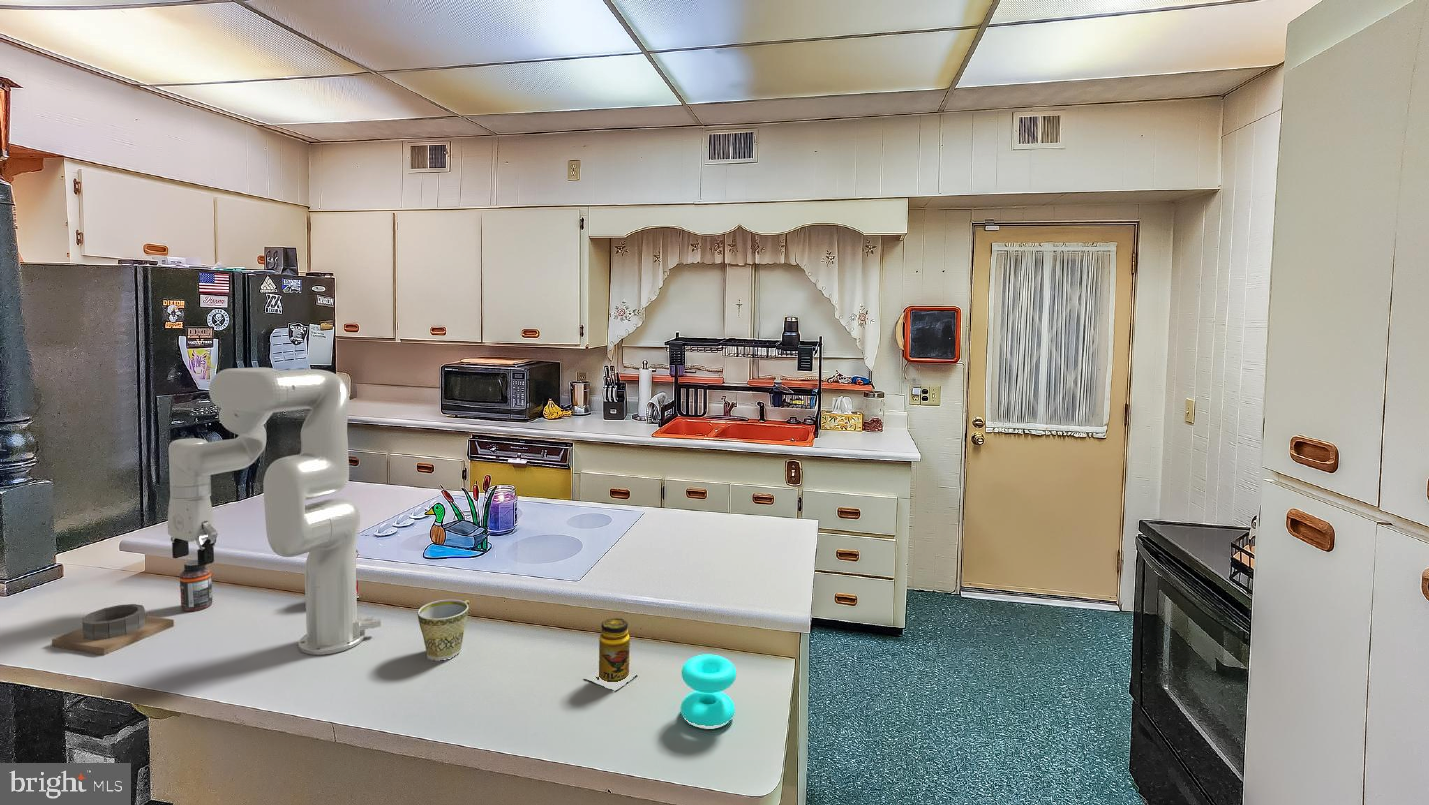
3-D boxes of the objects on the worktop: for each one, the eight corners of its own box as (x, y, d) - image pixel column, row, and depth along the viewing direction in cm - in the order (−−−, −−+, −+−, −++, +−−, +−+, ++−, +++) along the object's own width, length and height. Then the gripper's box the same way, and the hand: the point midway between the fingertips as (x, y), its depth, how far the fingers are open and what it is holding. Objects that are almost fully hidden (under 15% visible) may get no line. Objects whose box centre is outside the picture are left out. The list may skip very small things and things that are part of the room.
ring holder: (125, 618, 150) (124, 597, 149) (173, 626, 147) (172, 604, 146) (52, 646, 136) (50, 623, 136) (104, 655, 133) (102, 632, 133)
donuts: (670, 664, 118) (707, 646, 125) (668, 716, 119) (705, 695, 126) (711, 685, 111) (747, 665, 118) (709, 740, 112) (745, 716, 119)
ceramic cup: (445, 669, 132) (445, 622, 131) (407, 660, 135) (406, 614, 134) (487, 641, 144) (487, 598, 143) (451, 633, 148) (450, 591, 147)
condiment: (616, 692, 126) (617, 633, 125) (582, 679, 130) (583, 622, 129) (638, 676, 132) (639, 619, 131) (605, 664, 136) (606, 609, 135)
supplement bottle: (179, 606, 157) (177, 561, 156) (210, 600, 161) (208, 555, 160) (182, 614, 153) (180, 568, 151) (214, 607, 157) (212, 562, 156)
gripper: (150, 488, 154) (153, 558, 156) (195, 499, 147) (198, 572, 149) (186, 482, 161) (188, 549, 162) (231, 492, 154) (233, 562, 156)
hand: (193, 560), depth 156 cm, fingers open, 9 cm apart
